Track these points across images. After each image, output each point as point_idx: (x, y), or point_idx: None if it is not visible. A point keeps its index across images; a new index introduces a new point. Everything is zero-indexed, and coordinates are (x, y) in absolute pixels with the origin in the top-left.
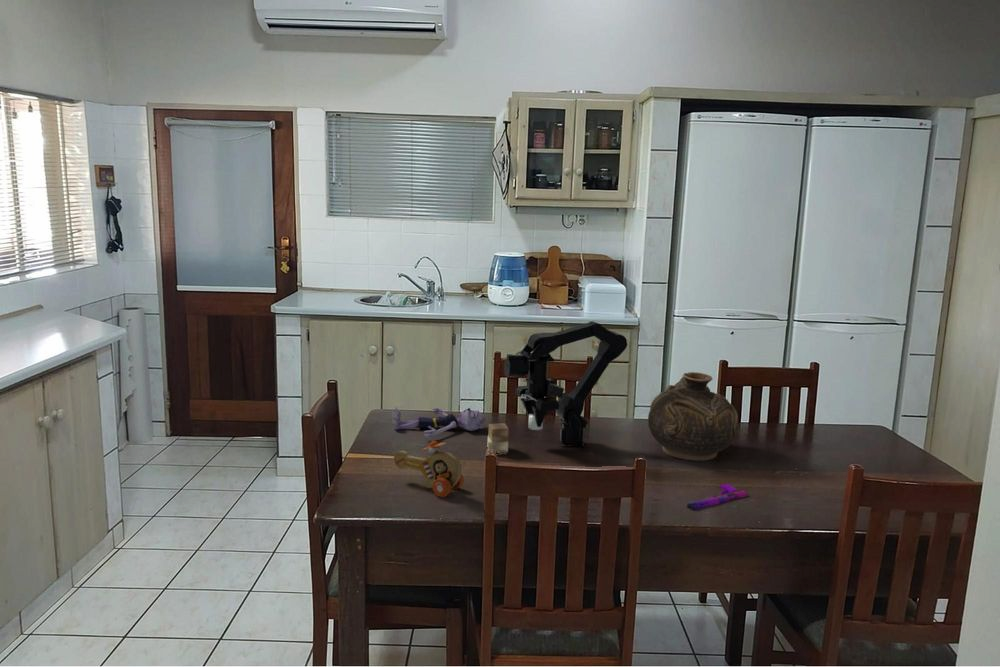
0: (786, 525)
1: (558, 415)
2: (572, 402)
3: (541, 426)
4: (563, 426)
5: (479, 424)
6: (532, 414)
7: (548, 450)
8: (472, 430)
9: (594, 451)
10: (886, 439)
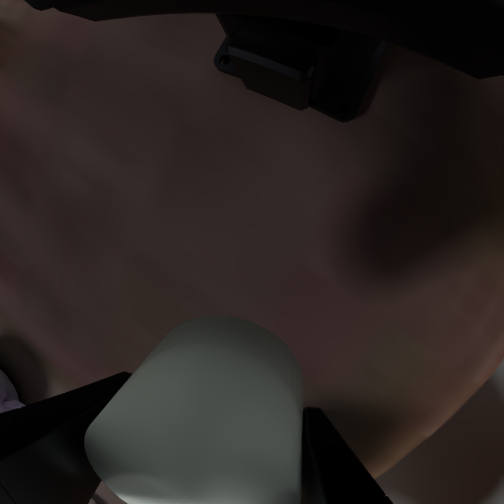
0: None
1: (176, 13)
2: None
3: (296, 380)
4: (297, 42)
5: (9, 405)
6: (135, 490)
7: (358, 264)
8: (17, 396)
9: None
10: None
